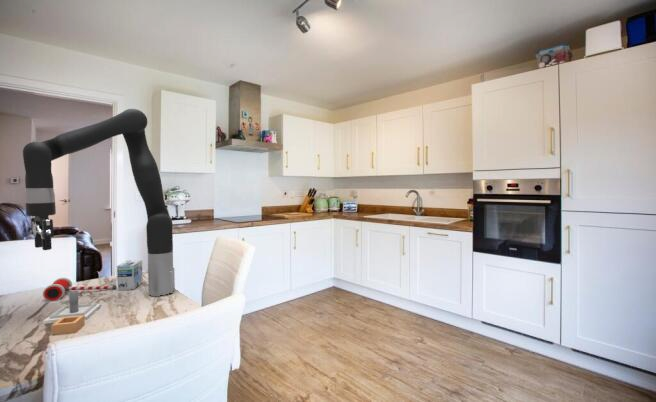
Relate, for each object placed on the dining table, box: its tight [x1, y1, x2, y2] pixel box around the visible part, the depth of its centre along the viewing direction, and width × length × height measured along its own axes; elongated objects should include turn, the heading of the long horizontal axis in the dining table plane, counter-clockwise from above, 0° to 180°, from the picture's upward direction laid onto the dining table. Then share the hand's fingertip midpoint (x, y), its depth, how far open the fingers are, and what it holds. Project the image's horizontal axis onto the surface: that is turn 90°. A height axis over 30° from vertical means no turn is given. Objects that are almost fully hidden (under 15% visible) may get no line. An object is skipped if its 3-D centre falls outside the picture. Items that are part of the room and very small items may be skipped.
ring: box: [50, 315, 86, 336], centre depth 97 cm, size 6×6×3 cm
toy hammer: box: [42, 277, 117, 302], centre depth 131 cm, size 23×12×6 cm, turn 116°
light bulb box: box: [116, 259, 144, 292], centre depth 139 cm, size 11×7×11 cm, turn 13°
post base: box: [42, 290, 102, 325], centre depth 108 cm, size 12×12×8 cm
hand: (43, 248), depth 108 cm, fingers open, 8 cm apart
